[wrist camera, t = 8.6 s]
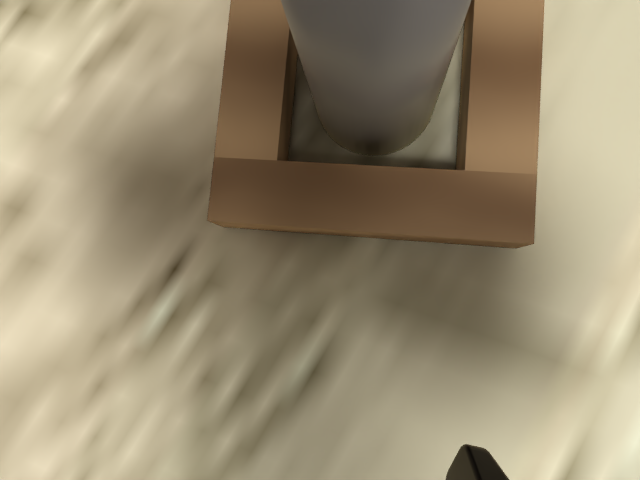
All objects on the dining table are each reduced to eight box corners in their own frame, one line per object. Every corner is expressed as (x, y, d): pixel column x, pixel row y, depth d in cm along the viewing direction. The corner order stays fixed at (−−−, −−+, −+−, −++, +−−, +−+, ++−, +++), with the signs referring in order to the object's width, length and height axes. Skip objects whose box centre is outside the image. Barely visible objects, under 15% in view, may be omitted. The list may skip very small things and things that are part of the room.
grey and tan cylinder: (459, 111, 19) (644, -268, 6) (358, 178, 19) (325, -45, 6) (391, 19, 20) (424, -494, 7) (294, 85, 20) (145, -287, 7)
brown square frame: (516, 248, 18) (534, 243, 16) (224, 227, 19) (207, 220, 17) (529, -37, 19) (547, -74, 17) (251, -36, 20) (238, -71, 19)
